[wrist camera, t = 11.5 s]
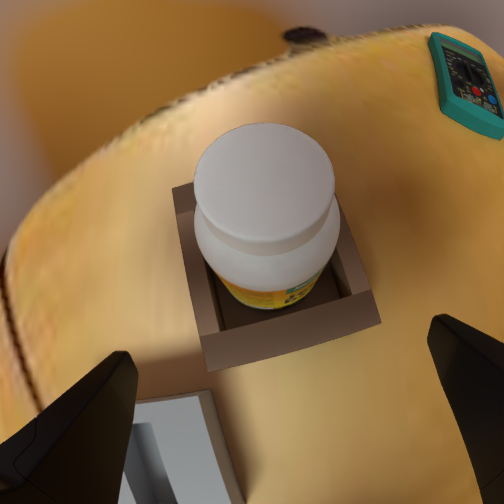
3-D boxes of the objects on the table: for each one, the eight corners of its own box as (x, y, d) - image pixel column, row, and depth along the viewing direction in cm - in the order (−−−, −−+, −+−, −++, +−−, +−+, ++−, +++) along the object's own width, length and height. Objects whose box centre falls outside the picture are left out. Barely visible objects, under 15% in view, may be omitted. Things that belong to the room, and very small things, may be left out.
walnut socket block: (364, 328, 16) (381, 322, 13) (219, 369, 16) (207, 372, 13) (311, 179, 20) (317, 151, 17) (185, 211, 19) (171, 188, 17)
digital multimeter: (438, 120, 22) (450, 98, 19) (426, 44, 26) (432, 26, 23) (500, 149, 20) (514, 131, 18) (476, 66, 25) (483, 50, 22)
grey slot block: (246, 505, 13) (241, 529, 10) (129, 510, 13) (109, 528, 10) (210, 388, 16) (197, 395, 13) (93, 404, 16) (67, 409, 13)
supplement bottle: (251, 208, 19) (232, 88, 10) (332, 248, 17) (382, 144, 8) (205, 285, 17) (134, 211, 8) (289, 331, 16) (310, 305, 7)
